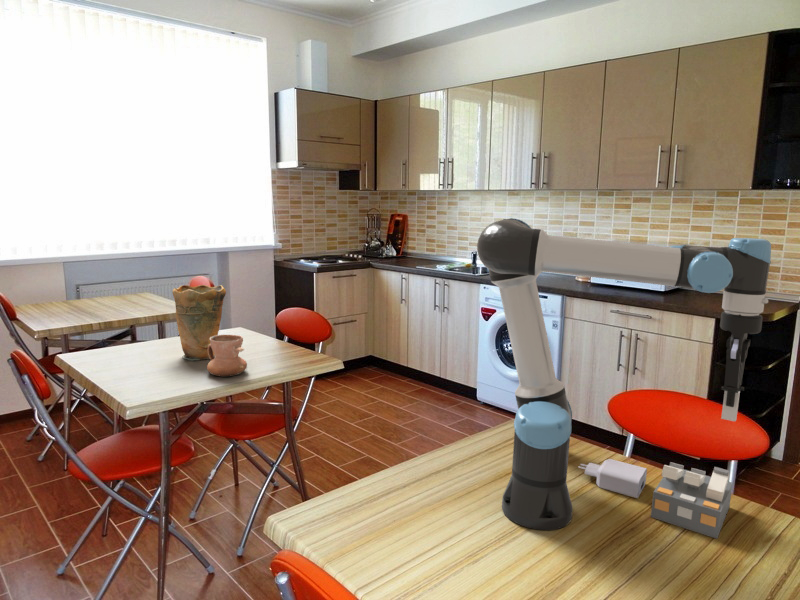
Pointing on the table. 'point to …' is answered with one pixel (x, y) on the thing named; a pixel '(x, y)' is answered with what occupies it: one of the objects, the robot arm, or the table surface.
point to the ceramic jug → (226, 355)
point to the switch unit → (690, 505)
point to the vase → (198, 317)
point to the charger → (618, 476)
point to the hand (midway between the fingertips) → (728, 419)
